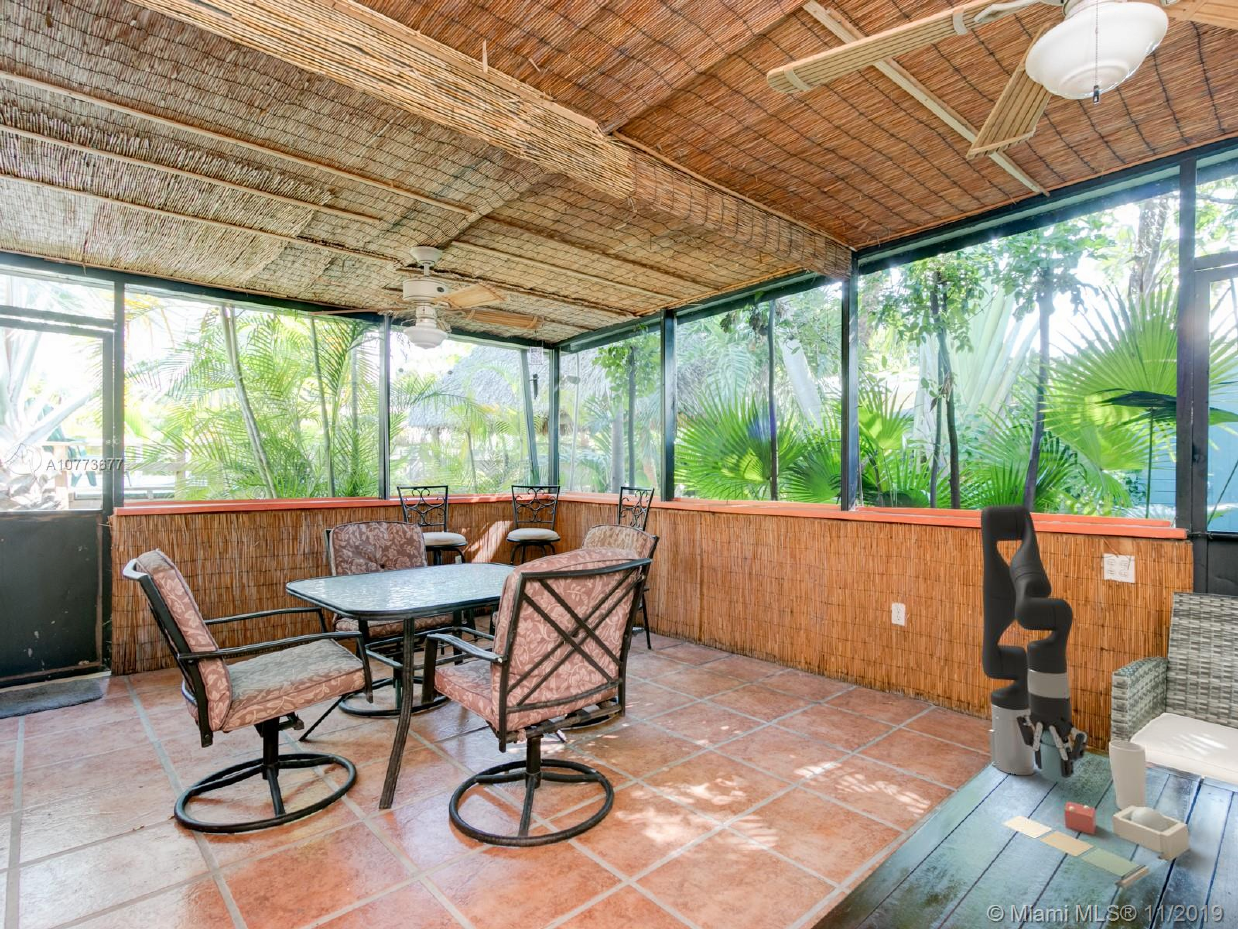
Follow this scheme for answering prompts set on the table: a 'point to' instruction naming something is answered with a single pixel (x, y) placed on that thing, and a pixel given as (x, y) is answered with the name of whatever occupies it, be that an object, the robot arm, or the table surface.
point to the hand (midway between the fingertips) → (1054, 772)
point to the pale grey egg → (1149, 818)
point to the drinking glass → (1128, 773)
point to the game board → (1080, 849)
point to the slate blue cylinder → (1050, 758)
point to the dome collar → (1153, 834)
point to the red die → (1080, 817)
